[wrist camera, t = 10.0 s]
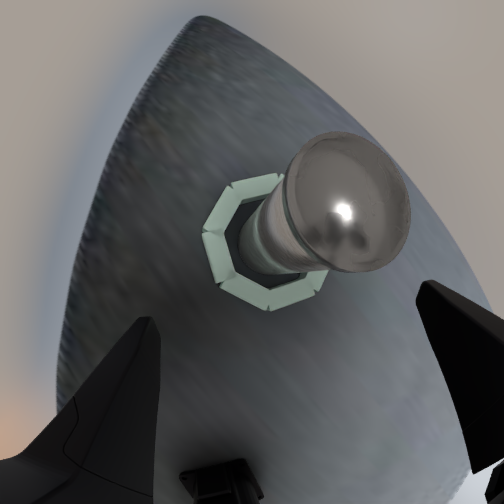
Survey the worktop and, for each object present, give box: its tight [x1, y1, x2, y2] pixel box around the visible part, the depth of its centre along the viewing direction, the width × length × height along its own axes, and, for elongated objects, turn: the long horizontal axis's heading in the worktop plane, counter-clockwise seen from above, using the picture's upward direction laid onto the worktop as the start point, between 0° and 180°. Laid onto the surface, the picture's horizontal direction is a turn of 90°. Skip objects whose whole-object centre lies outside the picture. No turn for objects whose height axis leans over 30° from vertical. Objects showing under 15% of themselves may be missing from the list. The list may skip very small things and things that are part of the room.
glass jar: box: [238, 132, 411, 275], centre depth 16 cm, size 5×5×13 cm
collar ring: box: [202, 173, 328, 311], centre depth 21 cm, size 10×10×2 cm
